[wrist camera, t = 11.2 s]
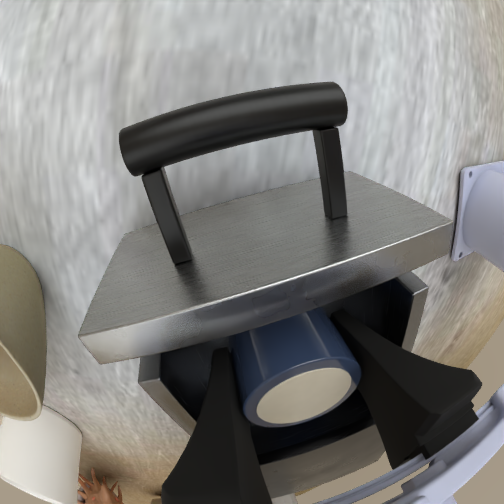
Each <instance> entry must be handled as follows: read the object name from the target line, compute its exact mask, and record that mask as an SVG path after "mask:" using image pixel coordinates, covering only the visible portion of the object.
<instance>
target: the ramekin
mask: <svg viewBox="0 0 504 504" xmlns="http://www.w3.org/2000/svg"><path fill="white" fill-rule="evenodd" d="M227 339H228V344H229V349H230V353H231V358H232V363H233V368H234V373H235V378H236V383H237V388H238V393H239V397H240V402H241V406H242V411H243V414H244V416H245V417H246V418H247V420H249V421H250V422H252V423H254V424H256V425H259V426H264V427H286V426H292V425H297V424H301V423H304V422H307V421H310V420H313V419H315V418H317V417H320V416H322V415H324V414H326V413H327V412H329V411H331V410H333V409H334V408H336V407H337V406H338V405H340V404H341V403H342V402H344V401H345V400H346V399H347V398H348V397H349V396H350V395H351V394H352V393H353V392H354V390H355V389H356V387H357V386H358V384H359V382H360V379H361V374H362V371H361V367H360V365H359V363H358V362H357V360H356V358H355V357H354V355H353V353H352V352H351V350H350V349H349V347H348V345H347V344H346V342H345V341H344V339H343V338H342V336H341V334H340V333H339V331H338V330H337V328H336V326H335V325H334V323H333V322H332V320H331V319H330V317H329V316H328V314H327V312H326V311H325V309H324V308H323V306H321V307H319V308H316V309H313V310H310V311H307V312H304V313H301V314H298V315H295V316H292V317H289V318H286V319H283V320H280V321H277V322H274V323H271V324H267V325H264V326H261V327H258V328H254V329H251V330H248V331H244V332H241V333H237V334H234V335H230V336H227Z"/></svg>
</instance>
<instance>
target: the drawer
mask: <svg viewBox="0 0 504 504" xmlns="http://www.w3.org/2000/svg"><path fill="white" fill-rule="evenodd" d="M347 114H348V106H347V101H346V97H345V94H344V92H343V90H342V89H341V87H340V86H339V85H338V84H336V83H334V82H320V83H309V84H299V85H290V86H283V87H275V88H269V89H263V90H257V91H251V92H246V93H241V94H236V95H231V96H227V97H222V98H218V99H214V100H210V101H206V102H202V103H198V104H195V105H191V106H188V107H184V108H181V109H177V110H174V111H171V112H168V113H165V114H162V115H159V116H156V117H153V118H150V119H147V120H144V121H142V122H139V123H136V124H134V125H131V126H128V127H126V128H123V129H122V130H121V131H120V133H119V145H120V150H121V154H122V157H123V160H124V163H125V165H126V167H127V169H128V170H129V172H130V173H131V174H132V175H133V176H139V175H142V174H143V175H142V181H143V184H144V187H145V190H146V193H147V196H148V199H149V201H150V204H151V207H152V210H153V213H154V215H155V218H156V221H157V223H156V224H153V225H150V226H147V227H144V228H141V229H138V230H135V231H132V232H129V233H126V234H124V236H123V238H122V240H121V241H120V243H119V245H118V247H117V249H116V251H115V253H114V255H113V257H112V259H111V261H110V263H109V265H108V267H107V269H106V271H105V273H104V275H103V278H102V280H101V282H100V284H99V286H98V288H97V291H96V293H95V295H94V297H93V300H92V302H91V304H90V307H89V309H88V312H87V314H86V316H85V319H84V321H83V324H82V327H81V329H80V332H79V334H78V337H79V339H80V340H81V341H82V343H83V344H84V345H85V347H86V348H87V349H88V350H89V352H90V353H91V354H92V355H93V357H94V358H95V359H96V360H97V361H98V363H99V364H106V363H112V362H118V361H123V360H128V359H134V358H139V357H141V359H140V367H139V377H138V383H139V384H140V386H141V387H142V388H143V389H144V390H145V391H146V392H147V393H148V394H149V395H150V397H151V398H152V399H153V400H154V401H155V402H156V403H157V404H158V405H159V406H160V407H161V408H162V409H163V410H164V411H165V412H166V413H167V414H168V415H169V416H170V417H171V418H172V419H173V420H174V421H175V422H176V423H177V424H178V425H179V426H180V427H182V428H183V429H184V430H185V431H186V432H187V433H188V434H189V435H190V436H191V435H192V433H193V431H194V428H195V426H196V423H197V420H198V417H199V415H200V412H201V408H202V405H203V401H204V398H205V394H206V390H207V386H208V381H209V376H210V371H211V364H212V355H213V351H214V350H216V349H220V348H224V347H228V349H229V344H228V339H227V336H230V335H234V334H237V333H241V332H244V331H248V330H251V329H254V328H258V327H261V326H264V325H267V324H271V323H274V322H277V321H280V320H283V319H286V318H289V317H292V316H295V315H298V314H301V313H304V312H307V311H310V310H313V309H316V308H319V307H321V306H323V308H324V309H325V311H326V312H327V314H328V316H329V317H330V319H331V313H334V312H336V311H339V310H341V309H344V310H346V311H347V312H348V313H350V314H351V315H352V316H353V317H355V318H356V319H358V320H359V321H360V322H362V323H363V324H364V325H366V326H367V327H369V328H370V329H372V330H373V331H375V332H376V333H378V334H379V335H381V336H382V337H384V338H385V339H387V340H389V341H390V342H392V343H394V344H396V345H397V346H399V347H401V348H403V349H405V350H407V351H409V352H411V351H412V348H413V345H414V341H415V338H416V335H417V332H418V328H419V325H420V321H421V317H422V313H423V310H424V306H425V301H426V297H427V293H428V286H427V285H426V284H425V283H424V282H423V281H422V280H420V279H419V278H418V277H417V276H416V275H415V274H414V273H412V272H411V271H412V270H414V269H416V268H418V267H421V266H423V265H425V264H427V263H429V262H431V261H434V260H436V259H438V258H440V257H442V256H444V255H446V254H448V253H449V248H450V242H451V235H452V228H453V221H452V220H450V219H449V218H447V217H445V216H443V215H442V214H440V213H438V212H436V211H434V210H432V209H430V208H429V207H427V206H425V205H423V204H421V203H419V202H417V201H415V200H413V199H411V198H409V197H407V196H405V195H403V194H401V193H399V192H396V191H394V190H392V189H390V188H388V187H386V186H383V185H381V184H379V183H377V182H375V181H372V180H370V179H368V178H365V177H363V176H361V175H358V174H356V173H353V172H351V171H349V172H345V173H344V169H343V160H342V152H341V145H340V138H339V131H338V128H336V127H337V126H341V125H343V124H344V123H345V121H346V119H347ZM310 130H313V136H314V142H315V148H316V154H317V160H318V167H319V174H320V178H317V179H313V180H309V181H304V182H300V183H296V184H292V185H288V186H284V187H280V188H276V189H272V190H268V191H264V192H260V193H257V194H253V195H249V196H246V197H242V198H238V199H235V200H231V201H228V202H224V203H221V204H217V205H214V206H210V207H207V208H203V209H200V210H197V211H194V212H190V213H187V214H184V215H181V216H180V215H179V212H178V209H177V206H176V203H175V200H174V197H173V194H172V191H171V188H170V185H169V182H168V178H167V175H166V172H165V169H164V167H165V166H168V165H171V164H174V163H177V162H180V161H183V160H187V159H190V158H193V157H197V156H200V155H204V154H207V153H211V152H214V151H218V150H222V149H226V148H229V147H233V146H237V145H241V144H246V143H250V142H254V141H259V140H263V139H268V138H273V137H277V136H283V135H288V134H293V133H299V132H304V131H310ZM229 351H230V349H229ZM370 414H371V413H370V410H369V408H368V406H367V404H366V402H365V400H364V398H363V396H362V394H361V393H360V391H359V389H358V388H357V387H356V389H355V390H354V392H353V393H352V394H351V395H350V396H349V397H348V398H347V399H346V400H345V401H344V402H342V403H341V404H340V405H338V406H337V407H336V408H334V409H333V410H331V411H329V412H327V413H326V414H324V415H322V416H320V417H317V418H315V419H313V420H310V421H307V422H304V423H301V424H297V425H292V426H286V427H264V426H259V425H256V424H254V423H252V422H250V421H249V426H250V432H251V437H252V441H253V445H254V448H255V452H256V455H258V454H262V453H266V452H270V451H274V450H277V449H281V448H284V447H288V446H291V445H294V444H297V443H300V442H303V441H306V440H309V439H312V438H315V437H318V436H321V435H323V434H326V433H328V432H331V431H334V430H336V429H339V428H341V427H343V426H346V425H348V424H350V423H353V422H355V421H357V420H359V419H362V418H364V417H366V416H368V415H370Z"/></svg>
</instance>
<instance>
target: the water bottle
mask: <svg viewBox="0 0 504 504" xmlns="http://www.w3.org/2000/svg"><path fill="white" fill-rule="evenodd" d="M271 500H272V503H273V504H298V503H297V500H296V497H295V494H294V493H292V494H289V495H285V496H281V497H277V498H273V499H271Z"/></svg>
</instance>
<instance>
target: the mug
mask: <svg viewBox="0 0 504 504" xmlns="http://www.w3.org/2000/svg"><path fill="white" fill-rule="evenodd" d="M81 444H82V434H81V432H80V430H79V429H78V428H77V427H76V426H75V425H74V424H73V423H72V422H71V421H69V420H68V419H67V418H65V417H64V416H62V415H60V414H59V413H57V412H55V411H54V410H52V409H50V408H48V407H46V406H44V405H42V411H41V414H40V416H39V417H38V418H36V419H34V420H31V421H20V420H15V419H11V418H8V417H5V416H4V417H3V421H2V424H1V425H0V478H1V479H3V480H4V481H6V482H8V483H9V484H11V485H13V486H15V487H17V488H19V489H21V490H23V491H25V492H27V493H29V494H31V495H33V496H35V497H38V498H40V499H43V500H45V501H48V502H50V503H53V504H77V495H78V475H79V463H80V453H81Z"/></svg>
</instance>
